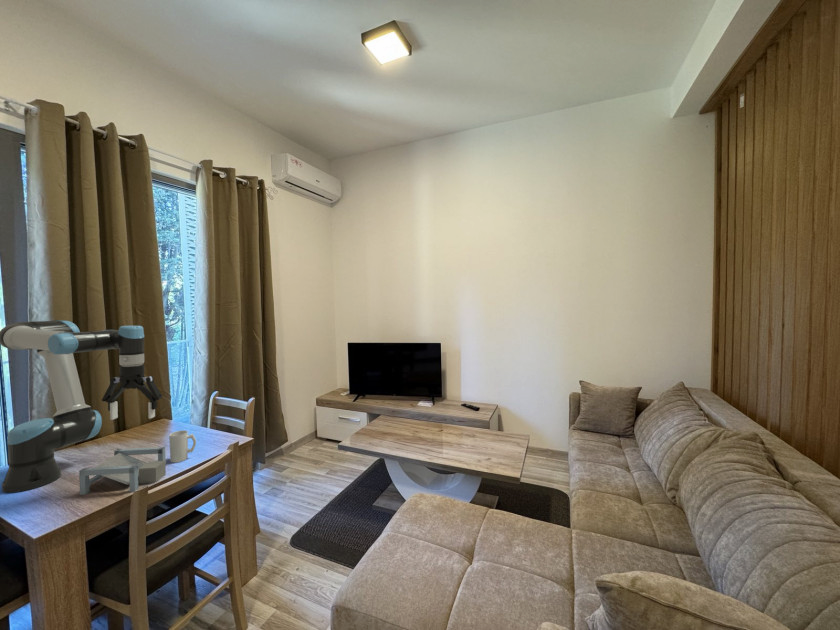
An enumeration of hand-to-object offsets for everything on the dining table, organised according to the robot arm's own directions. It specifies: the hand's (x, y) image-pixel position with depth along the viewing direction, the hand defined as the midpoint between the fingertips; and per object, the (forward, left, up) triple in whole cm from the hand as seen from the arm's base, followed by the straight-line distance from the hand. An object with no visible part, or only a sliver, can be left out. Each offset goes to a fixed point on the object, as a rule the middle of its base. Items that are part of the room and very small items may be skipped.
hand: (133, 418), depth 133 cm
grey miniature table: (-3, -1, -25) cm, 25 cm away
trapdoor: (-4, -1, -20) cm, 20 cm away
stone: (+4, -1, -22) cm, 22 cm away
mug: (+9, +16, -25) cm, 31 cm away
